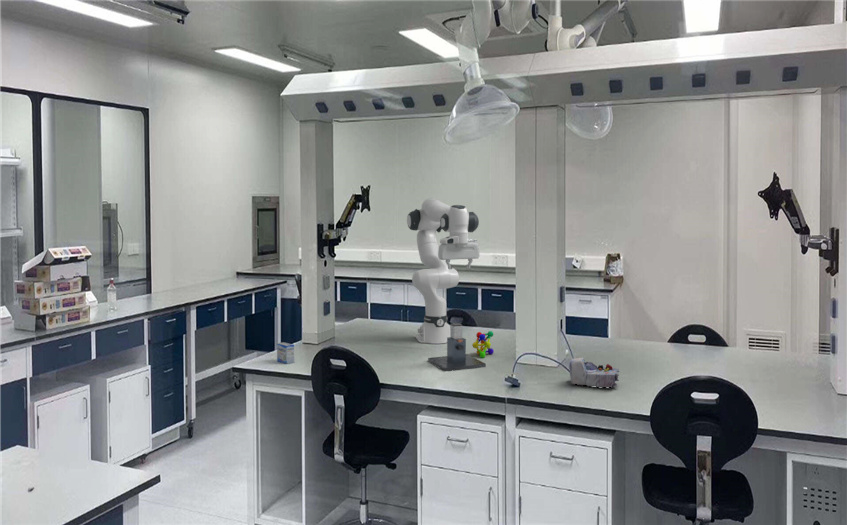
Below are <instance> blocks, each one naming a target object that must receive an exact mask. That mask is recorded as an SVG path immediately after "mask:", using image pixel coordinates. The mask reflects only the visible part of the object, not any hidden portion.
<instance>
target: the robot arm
mask: <svg viewBox="0 0 847 525" xmlns="http://www.w3.org/2000/svg"><path fill="white" fill-rule="evenodd" d="M406 223H407V227H408V229H409V230H411V231H418V232H417V233H416V243H417V245H416V246H417V250H418V255H419V258H420V261H421V263H422V264H423V265H424V266H425V267H427V268H422V269H419V270H416V271H414V272H413V274H412V277H411V281H412V282H411V283H412V285H413V287H414V288H415V289H416V290H417V291H419V292H420V293H421V295H422V297H423V299H424V305H425V306H424V307H425V308H424V309H425V315H424V318H423V321H424V322H423V323H422V324H421V325H420V326H419V328H417V333H418V334H416V335H415V336H414V338H415V337H416V338H415V339H416V340H417V342H418V343H421V344H432V345H433V344H439V345H440V344H447V337H451V326H450V324H449V323H448V315H447V301H446V299H445V298H444V297H443V296H441V295H439V294H438V292H437V290H443V289H444V290H445V289H446V290H448V289H451V288H455V287H457V285H458V284H459V283H460V282H459V281H460V274H459V272H458V270H456V268H453V265H451V263H450V262H451V260H452V261H453V260H467V261H468V263H467V264H465V266H466V267H465V269H471V265H472V263H473V260H474V259H477V260H478V259H479V258H480V250H479V249H480V247H479V246H480V243H479V240H477V239H476V238H472V239H471V238H469V233H473V232H476V230H477V229H478V227H479V225H480V224H479V217H478V215H477V214H476V213H475V212H474V211H468V210H467V207H466V206H465V205H460V204H454V205H449V204H448V203H444V201H441V200H440V199H437V198H432V197H431V198H426V199H424V200H423V202H422V204H421V208H420V209H418V208H416V209H414V210H412V211H410V212H409V213H408V214H407V216H406ZM441 231H444V232H445V233H449V235H448V236H446V237H443V238H441V239H440V240H439V243H438V240H437V236H436V233H438V234H439V233H441Z"/></svg>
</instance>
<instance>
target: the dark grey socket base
mask: <svg viewBox="0 0 847 525" xmlns="http://www.w3.org/2000/svg"><path fill="white" fill-rule="evenodd" d="M466 341H467V339H466V338H464V337H462V339H457V340H453V339H451V336H450V337H447V343H446V345H447V346H446V352H447V354H446V355H445V356H435V357H434V356H433V357H428V358H427V362H429V363H430V362H431V364H432V363H433V364H432V365H434V366H435V365H436V368H439V369H440V368H441V370H442V371H444V372H451V371H452V370H453V371H459V370H461V371H462V370H463V371H464V370H471V369H479V368H486V367H487V365H486V363H485V362H483V361H482V360H480V359H477V358H475V357H474V356H472V355H469V354H468V353H467V351H466V348H467V347H466V345H467V344H466V343H467V342H466Z"/></svg>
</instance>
